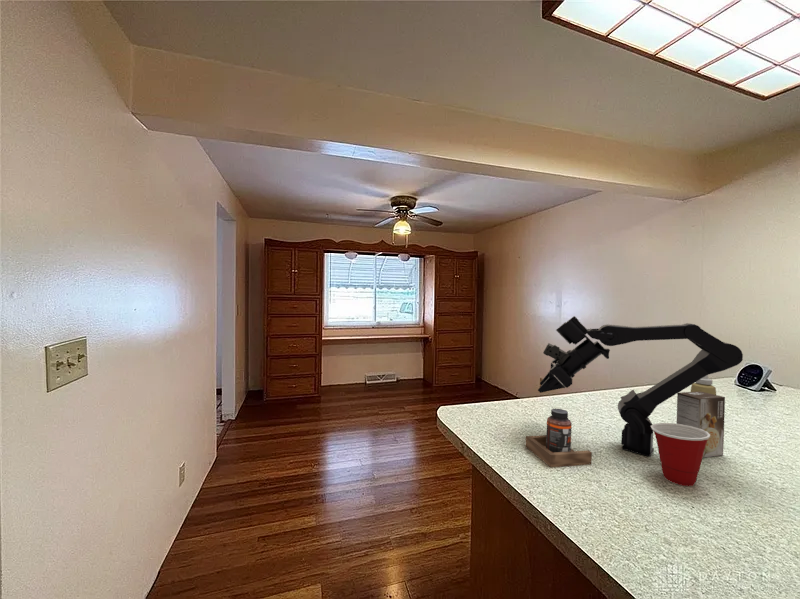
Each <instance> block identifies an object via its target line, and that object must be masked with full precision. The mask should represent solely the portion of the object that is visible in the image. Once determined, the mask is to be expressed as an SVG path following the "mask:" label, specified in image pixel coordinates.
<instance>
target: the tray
mask: <svg viewBox="0 0 800 599" xmlns="http://www.w3.org/2000/svg"><path fill="white" fill-rule="evenodd" d="M525 448H526V449H527V450H529V452H531V453H532V454H534V455H535V456H536V457H537V458H538V459H540V460H541V461H542V462H543V463H545V464H546V465H547V466H549V467H550V468H556V467H557V468H560V467H574V466H586V465H587V466H588V465H592V461H593V458H592V456H593V452H592V451H590V450H577V451H576V450H574V449H573V448H571V452H554V453H552V452H551V451H550V450H548V449H547V448H546V434H545V435H544V434H543V435H526V436H525Z"/></svg>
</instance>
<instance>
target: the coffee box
mask: <svg viewBox="0 0 800 599" xmlns="http://www.w3.org/2000/svg"><path fill="white" fill-rule="evenodd" d="M676 396H677V399H676V400H677V401H676V424H682V425H687V426H692V427H696V428H699V429H702V430H704V431H706V432H708V433H709V434H710V437H709V439H708V440H707V444H706V447H705V449H704V453H703V457H702V459H703V458H711V457H718V456H724V440H725V439H724V438H725V437H724V436H725V410H726V409H725V406H726V400H725V399H726V397H725V396H721V395H717V394H716V395H714V394H710V393H705V392H701V391H698V392H691V391H686V392H685V391H684V392H682V391H681V392H679V393H677V394H676Z"/></svg>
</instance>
